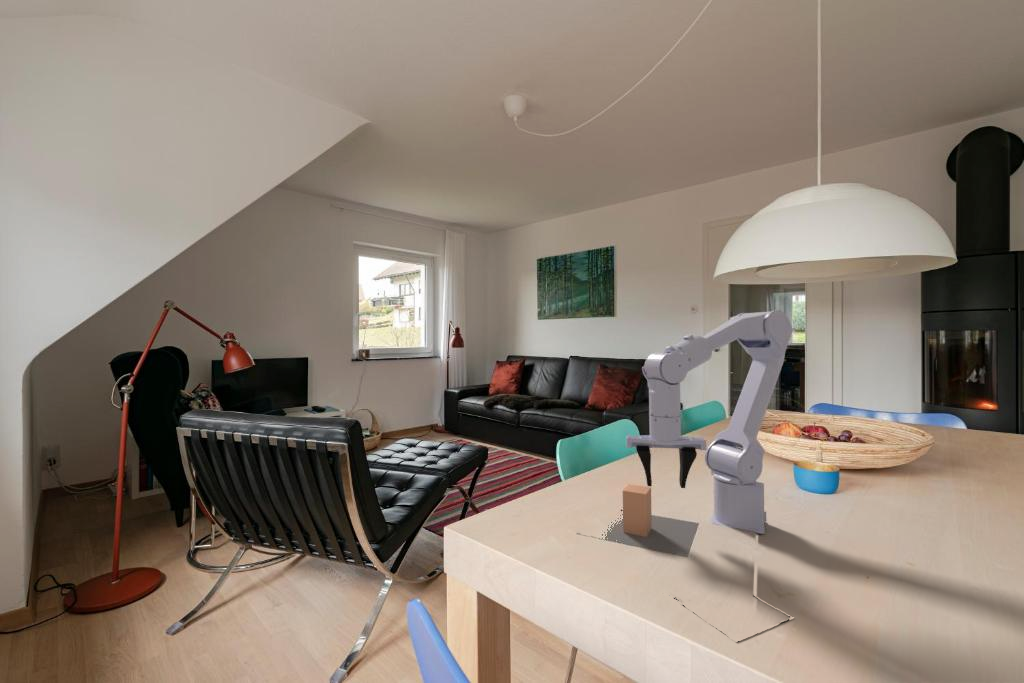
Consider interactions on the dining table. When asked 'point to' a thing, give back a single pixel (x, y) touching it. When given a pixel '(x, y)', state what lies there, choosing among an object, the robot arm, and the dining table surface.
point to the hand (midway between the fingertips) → (665, 485)
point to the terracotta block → (637, 510)
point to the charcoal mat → (658, 536)
